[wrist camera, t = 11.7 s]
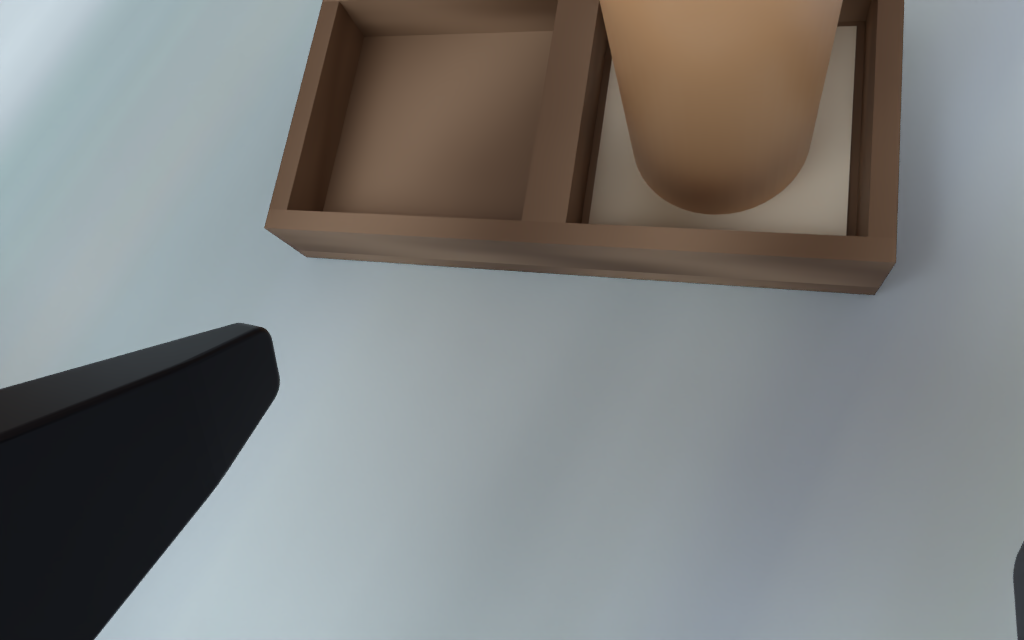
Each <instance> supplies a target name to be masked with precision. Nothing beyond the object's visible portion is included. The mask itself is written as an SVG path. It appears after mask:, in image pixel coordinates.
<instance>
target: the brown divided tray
mask: <svg viewBox="0 0 1024 640" xmlns="http://www.w3.org/2000/svg"><path fill="white" fill-rule="evenodd" d="M903 25H904V0H843V2H842V7H841V11H840V15H839V20H838V24H837V29H836V33H835V38H834V42H833V47H832V51H831V56H830V60H829V65H828V69H827V74H826V78H825V83H824V87H823V91H822V96H821V100H820V105H819V109H818V114H817V118H816V123H815V127H814V132H813V136H812V141H811V145H810V149H809V153H808V156H807V158H806V161H805V163H804V165H803V166H802V168H801V170H800V172H799V173H798V174H797V176H796V177H795V178H794V179H793V181H792V182H791V183H790V184H789V185H788V186H787V187H786V188H785V189H784V190H783V191H781V192H780V193H779V194H777V195H776V196H775V197H773V198H772V199H770V200H768V201H766V202H765V203H763V204H760V205H758V206H756V207H754V208H751V209H748V210H744V211H741V212H736V213H730V214H719V215H713V214H701V213H695V212H691V211H687V210H684V209H681V208H679V207H677V206H674V205H672V204H670V203H669V202H667V201H665V200H664V199H662V198H661V197H660V196H658V195H657V194H656V193H655V192H654V191H653V190H652V189H651V188H650V187H649V186H648V185H647V183H646V182H645V181H644V179H643V178H642V176H641V174H640V172H639V170H638V168H637V165H636V162H635V159H634V154H633V150H632V145H631V141H630V136H629V132H628V127H627V123H626V118H625V114H624V109H623V105H622V100H621V95H620V91H619V86H618V82H617V77H616V73H615V68H614V64H613V59H612V55H611V50H610V46H609V41H608V37H607V32H606V28H605V23H604V19H603V14H602V10H601V5H600V1H599V0H323V2H322V6H321V10H320V13H319V17H318V21H317V25H316V29H315V33H314V37H313V41H312V44H311V48H310V52H309V56H308V60H307V64H306V68H305V72H304V76H303V79H302V83H301V87H300V91H299V95H298V99H297V103H296V107H295V111H294V114H293V118H292V122H291V126H290V130H289V134H288V138H287V142H286V145H285V149H284V153H283V157H282V161H281V165H280V169H279V173H278V177H277V180H276V184H275V188H274V192H273V196H272V200H271V204H270V208H269V212H268V215H267V219H266V223H265V227H264V228H265V229H267V230H268V231H269V232H271V233H272V234H274V235H275V236H277V237H278V238H280V239H281V240H283V241H284V242H285V243H287V244H288V245H290V246H291V247H293V248H294V249H296V250H297V251H298V252H300V253H301V254H303V255H304V256H306V257H314V258H329V259H344V260H359V261H374V262H389V263H404V264H419V265H434V266H449V267H464V268H478V269H493V270H508V271H523V272H538V273H553V274H568V275H583V276H598V277H613V278H628V279H643V280H657V281H672V282H687V283H702V284H717V285H732V286H747V287H762V288H777V289H792V290H807V291H822V292H836V293H851V294H866V295H875V294H876V292H877V291H878V289H879V288H880V286H881V284H882V283H883V281H884V280H885V278H886V277H887V275H888V274H889V272H890V271H891V269H892V268H893V266H894V265H895V263H896V244H897V213H898V181H899V150H900V119H901V87H902V56H903Z"/></svg>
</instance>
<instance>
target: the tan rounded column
mask: <svg viewBox="0 0 1024 640" xmlns="http://www.w3.org/2000/svg"><path fill="white" fill-rule="evenodd" d="M599 1H600V5H601V10H602V14H603V19H604V23H605V28H606V32H607V37H608V41H609V46H610V50H611V55H612V59H613V64H614V68H615V73H616V77H617V82H618V86H619V91H620V95H621V100H622V105H623V109H624V114H625V118H626V123H627V127H628V132H629V136H630V141H631V145H632V150H633V154H634V159H635V162H636V165H637V168H638V170H639V172H640V174H641V176H642V178H643V179H644V181H645V182H646V183H647V185H648V186H649V187H650V188H651V189H652V190H653V191H654V192H655V193H656V194H657V195H658V196H660V197H661V198H662V199H664V200H665V201H667V202H669V203H670V204H672V205H674V206H677V207H679V208H681V209H684V210H687V211H691V212H695V213H701V214H713V215H719V214H730V213H736V212H741V211H744V210H748V209H751V208H754V207H756V206H758V205H760V204H763V203H765V202H766V201H768V200H770V199H772V198H773V197H775V196H776V195H777V194H779V193H780V192H781V191H783V190H784V189H785V188H786V187H787V186H788V185H789V184H790V183H791V182H792V181H793V179H794V178H795V177H796V176H797V174H798V173H799V172H800V170H801V168H802V166H803V165H804V163H805V161H806V158H807V156H808V153H809V149H810V145H811V141H812V136H813V132H814V127H815V123H816V118H817V114H818V109H819V105H820V100H821V96H822V91H823V87H824V83H825V78H826V74H827V69H828V65H829V60H830V56H831V51H832V47H833V42H834V38H835V33H836V29H837V24H838V20H839V15H840V11H841V7H842V2H843V0H599Z"/></svg>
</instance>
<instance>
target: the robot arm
mask: <svg viewBox="0 0 1024 640" xmlns="http://www.w3.org/2000/svg"><path fill="white" fill-rule="evenodd" d="M279 385H280V377H279V372H278V367H277V362H276V357H275V352H274V347H273V342H272V338H271V335H270V334H269V332H268V331H267V330H266V329H264V328H262V327H258V326H254V325H249V324H244V323H235V324H231V325H228V326H224V327H221V328H217V329H213V330H210V331H206V332H203V333H199V334H196V335H192V336H188V337H185V338H181V339H178V340H174V341H171V342H167V343H163V344H160V345H156V346H153V347H149V348H145V349H142V350H138V351H135V352H131V353H128V354H124V355H120V356H117V357H113V358H110V359H106V360H103V361H99V362H95V363H92V364H88V365H85V366H81V367H78V368H74V369H70V370H67V371H63V372H60V373H56V374H53V375H49V376H45V377H42V378H38V379H35V380H31V381H28V382H24V383H20V384H17V385H13V386H10V387H6V388H3V389H0V640H94V639H95V638H96V637H97V636H98V634H99V633H100V632H101V631H102V629H103V628H104V627H105V626H106V624H107V623H108V622H109V621H110V619H111V618H112V617H113V616H114V614H115V613H116V612H117V611H118V609H119V608H120V607H121V606H122V604H123V603H124V602H125V601H126V599H127V598H128V597H129V596H130V594H131V593H132V592H133V591H134V589H135V588H136V587H137V586H138V584H139V583H140V582H141V581H142V579H143V578H144V577H145V576H146V574H147V573H148V572H149V571H150V569H151V568H152V567H153V566H154V564H155V563H156V562H157V561H158V559H159V558H160V557H161V556H162V555H163V553H164V552H165V551H166V550H167V548H168V547H169V546H170V545H171V543H172V542H173V541H174V540H175V538H176V537H177V536H178V535H179V533H180V532H181V531H182V530H183V528H184V527H185V526H186V525H187V523H188V522H189V521H190V520H191V518H192V517H193V516H194V515H195V513H196V512H197V511H198V510H199V508H200V507H201V506H202V505H203V503H204V502H205V501H206V500H207V498H208V497H209V496H210V494H211V493H212V492H213V490H214V489H215V488H216V487H217V485H218V484H219V482H220V481H221V479H222V478H223V477H224V475H225V474H226V472H227V471H228V469H229V468H230V466H231V465H232V463H233V462H234V460H235V459H236V457H237V455H238V454H239V452H240V451H241V449H242V448H243V446H244V445H245V443H246V442H247V440H248V439H249V437H250V436H251V434H252V432H253V431H254V429H255V428H256V426H257V425H258V423H259V422H260V420H261V419H262V417H263V416H264V414H265V413H266V411H267V410H268V408H269V406H270V405H271V403H272V402H273V400H274V399H275V397H276V395H277V393H278V390H279ZM1013 583H1014V596H1015V610H1016V623H1017V636H1018V640H1024V542H1023V544H1022V546H1021V548H1020V550H1019V552H1018V554H1017V557H1016V560H1015V564H1014V572H1013Z"/></svg>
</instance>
